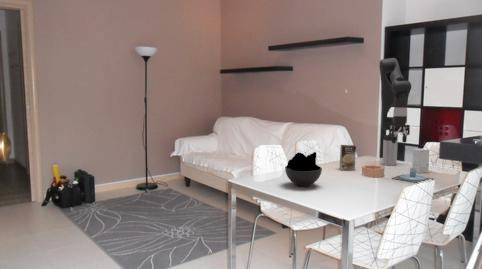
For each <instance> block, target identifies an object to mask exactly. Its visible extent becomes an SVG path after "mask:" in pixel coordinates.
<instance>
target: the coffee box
mask: <svg viewBox="0 0 482 269" xmlns="http://www.w3.org/2000/svg"><path fill="white" fill-rule="evenodd" d="M339 149H340V152H339V153H340V154H339V170H340V171H353V172H355V171H356V151H357V145H354V144H340V148H339Z"/></svg>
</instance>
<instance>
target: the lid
mask: <svg viewBox="0 0 482 269" xmlns="http://www.w3.org/2000/svg"><path fill="white" fill-rule="evenodd" d="M399 175H400V178H401V179H404V180H409V181H424V180H426V176H424V175H421V174H417V172H416V168H412V167H410V168H409V173H402V174H399Z"/></svg>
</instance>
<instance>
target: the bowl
mask: <svg viewBox="0 0 482 269" xmlns="http://www.w3.org/2000/svg"><path fill="white" fill-rule="evenodd" d="M361 175H362V176H363V175H364V176H363V177H367V178H382V176H383V177H384V176H385V167H383V166H380V165H374V164H372V165H370V164H369V165H367V164H366V165H363V166H361Z"/></svg>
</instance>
